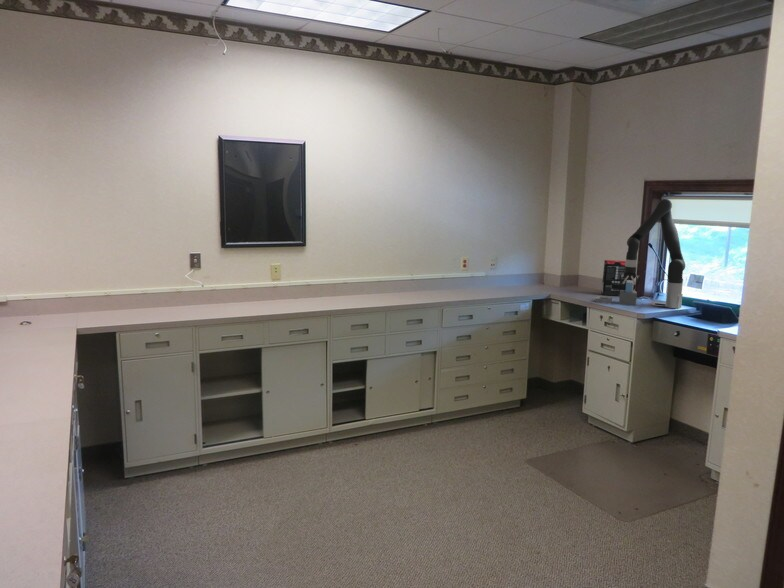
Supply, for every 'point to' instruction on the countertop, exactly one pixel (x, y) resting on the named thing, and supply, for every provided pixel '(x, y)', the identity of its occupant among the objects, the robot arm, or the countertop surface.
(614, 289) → the graphics card box
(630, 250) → the robot arm
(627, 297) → the jack block
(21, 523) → the countertop surface
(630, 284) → the plug
